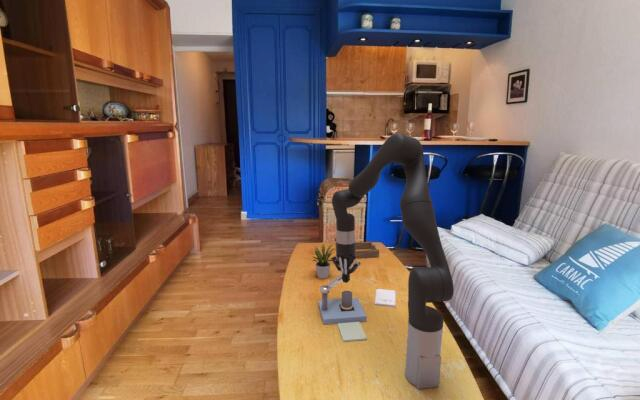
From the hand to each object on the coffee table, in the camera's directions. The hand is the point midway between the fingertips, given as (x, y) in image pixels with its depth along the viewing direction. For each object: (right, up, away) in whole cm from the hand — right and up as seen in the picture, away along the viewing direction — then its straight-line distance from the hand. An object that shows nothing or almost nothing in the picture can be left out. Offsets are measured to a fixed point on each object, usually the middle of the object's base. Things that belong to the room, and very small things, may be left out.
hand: (345, 281), depth 139 cm
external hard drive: (+17, -9, +6) cm, 20 cm away
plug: (0, -11, -5) cm, 12 cm away
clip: (-5, -1, -3) cm, 6 cm away
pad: (+1, -13, -18) cm, 22 cm away
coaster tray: (+14, +3, +55) cm, 57 cm away
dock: (-2, -11, -5) cm, 12 cm away
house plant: (-8, -4, +27) cm, 28 cm away
